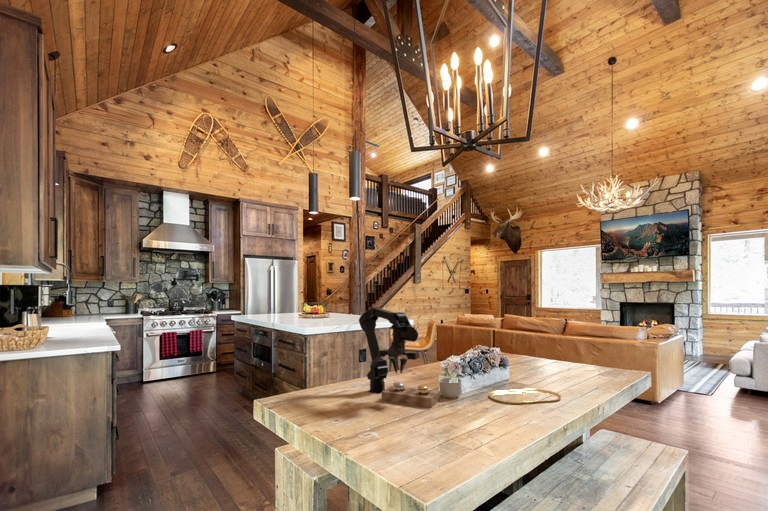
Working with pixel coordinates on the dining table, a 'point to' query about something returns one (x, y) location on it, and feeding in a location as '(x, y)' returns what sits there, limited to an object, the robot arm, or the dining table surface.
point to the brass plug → (422, 389)
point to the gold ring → (521, 392)
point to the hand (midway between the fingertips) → (398, 372)
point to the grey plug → (399, 386)
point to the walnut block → (411, 397)
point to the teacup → (450, 387)
